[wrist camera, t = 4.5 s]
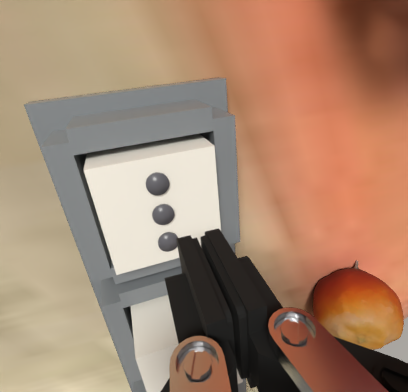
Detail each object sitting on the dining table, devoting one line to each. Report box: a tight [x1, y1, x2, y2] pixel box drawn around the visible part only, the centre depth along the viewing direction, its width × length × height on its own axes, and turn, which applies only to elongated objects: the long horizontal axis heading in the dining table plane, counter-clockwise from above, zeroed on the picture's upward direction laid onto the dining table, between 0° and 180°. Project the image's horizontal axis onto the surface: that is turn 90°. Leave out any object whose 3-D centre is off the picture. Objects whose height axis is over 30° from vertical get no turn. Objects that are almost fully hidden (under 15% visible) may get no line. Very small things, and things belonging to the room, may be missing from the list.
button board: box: [24, 78, 246, 392], centre depth 22 cm, size 11×31×4 cm, turn 6°
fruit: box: [313, 260, 404, 350], centre depth 28 cm, size 8×8×8 cm
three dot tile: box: [84, 134, 221, 275], centre depth 16 cm, size 6×6×4 cm
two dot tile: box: [131, 295, 243, 392], centre depth 18 cm, size 6×6×4 cm
